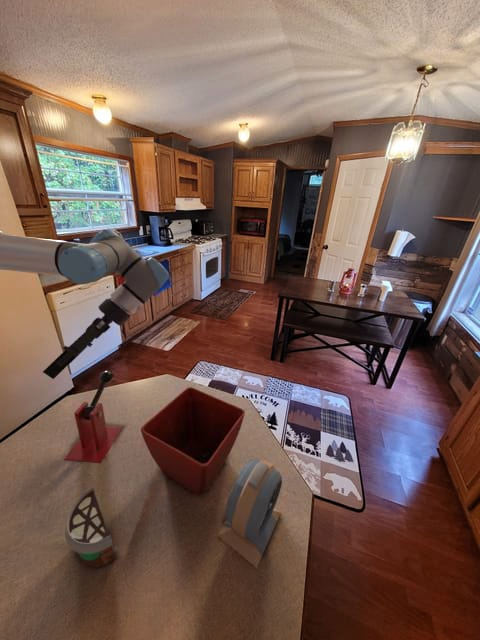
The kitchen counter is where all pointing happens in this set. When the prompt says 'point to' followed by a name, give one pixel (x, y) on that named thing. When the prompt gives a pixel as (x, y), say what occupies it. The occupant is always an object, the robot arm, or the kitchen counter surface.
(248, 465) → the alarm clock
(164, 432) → the flower pot
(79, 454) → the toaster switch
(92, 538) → the multicoloured piece
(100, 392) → the lever
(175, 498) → the kitchen counter surface
